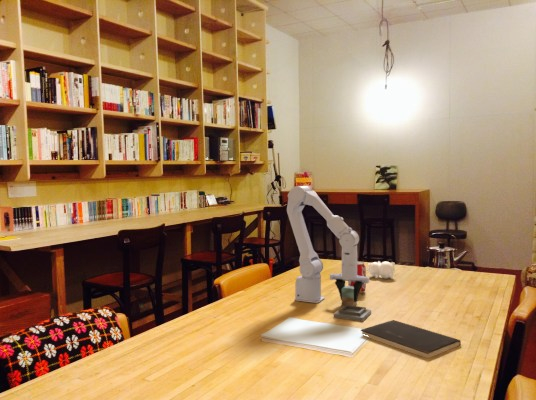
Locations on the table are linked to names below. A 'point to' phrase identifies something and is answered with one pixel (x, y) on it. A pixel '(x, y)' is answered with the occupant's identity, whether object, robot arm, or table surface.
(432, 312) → the table surface
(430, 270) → the table surface
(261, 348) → the table surface
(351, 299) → the block stack
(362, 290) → the soda can
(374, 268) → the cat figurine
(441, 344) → the hardcover book
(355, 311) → the socket board
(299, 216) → the robot arm
